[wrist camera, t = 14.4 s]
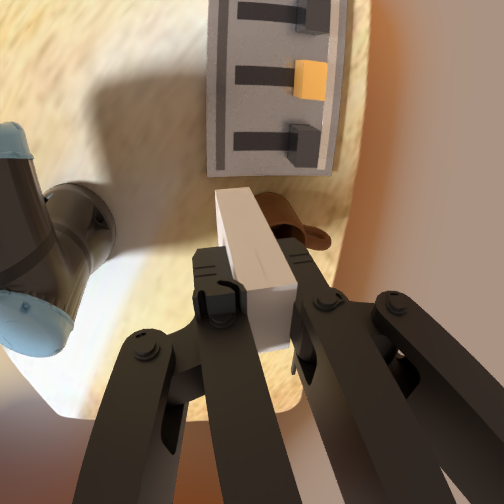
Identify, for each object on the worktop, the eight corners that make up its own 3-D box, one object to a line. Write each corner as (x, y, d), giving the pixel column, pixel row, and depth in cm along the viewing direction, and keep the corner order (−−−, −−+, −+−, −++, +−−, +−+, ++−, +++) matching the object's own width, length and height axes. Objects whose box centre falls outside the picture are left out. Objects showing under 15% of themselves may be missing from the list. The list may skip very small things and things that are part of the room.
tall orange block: (293, 95, 36) (301, 98, 33) (295, 59, 33) (304, 59, 30) (314, 97, 36) (324, 100, 33) (317, 62, 33) (327, 62, 30)
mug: (320, 196, 47) (344, 226, 40) (308, 237, 51) (328, 271, 44) (246, 188, 45) (258, 218, 37) (238, 232, 49) (248, 268, 41)
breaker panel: (206, 172, 42) (208, 187, 37) (209, -19, 26) (211, -32, 22) (326, 171, 45) (341, 185, 40) (341, -4, 29) (360, -11, 24)
